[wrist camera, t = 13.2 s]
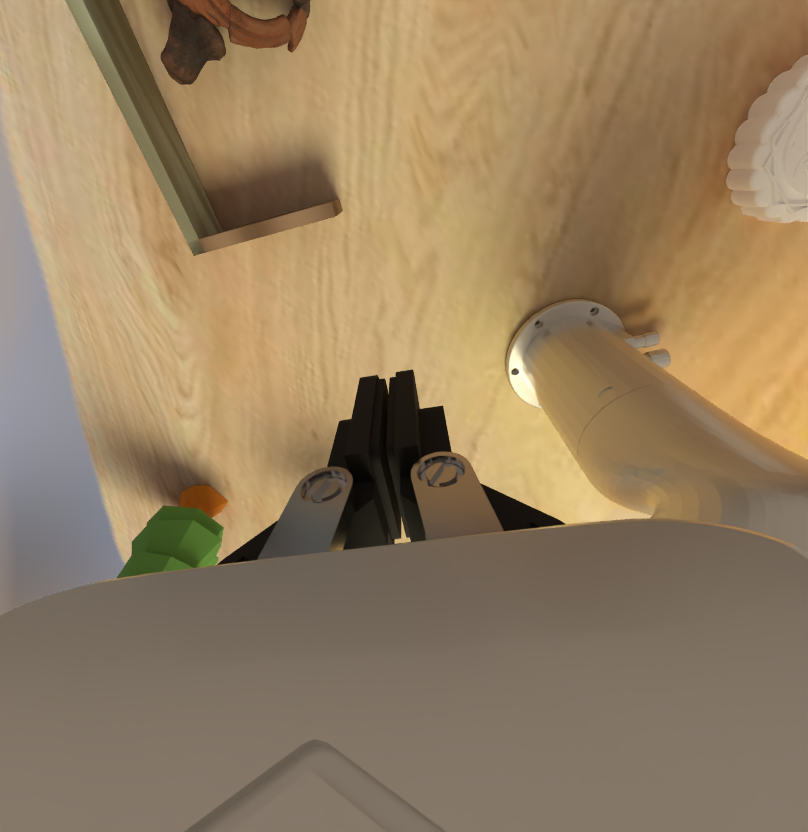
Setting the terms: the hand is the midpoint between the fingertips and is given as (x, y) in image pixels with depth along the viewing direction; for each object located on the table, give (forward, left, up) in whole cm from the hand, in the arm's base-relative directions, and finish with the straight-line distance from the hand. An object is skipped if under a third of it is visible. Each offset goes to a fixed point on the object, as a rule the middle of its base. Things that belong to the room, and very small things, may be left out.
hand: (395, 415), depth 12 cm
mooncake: (-36, -1, -29) cm, 46 cm away
